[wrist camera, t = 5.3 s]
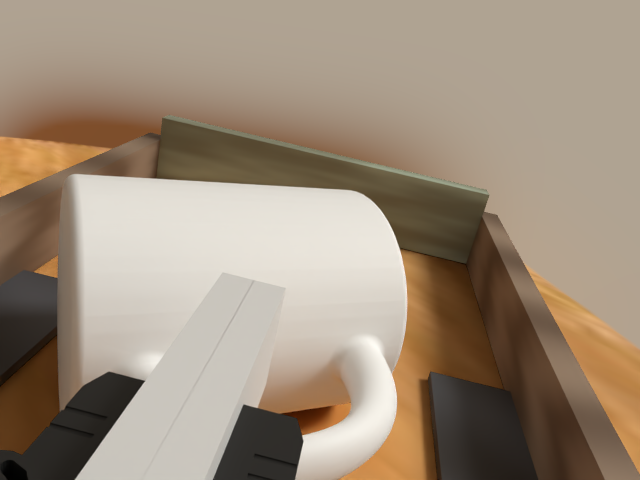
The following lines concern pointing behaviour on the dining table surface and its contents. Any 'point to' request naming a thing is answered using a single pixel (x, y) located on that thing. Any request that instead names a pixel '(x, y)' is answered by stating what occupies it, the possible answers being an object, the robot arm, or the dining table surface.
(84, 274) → the mug
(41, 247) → the wooden tray
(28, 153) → the dining table surface
